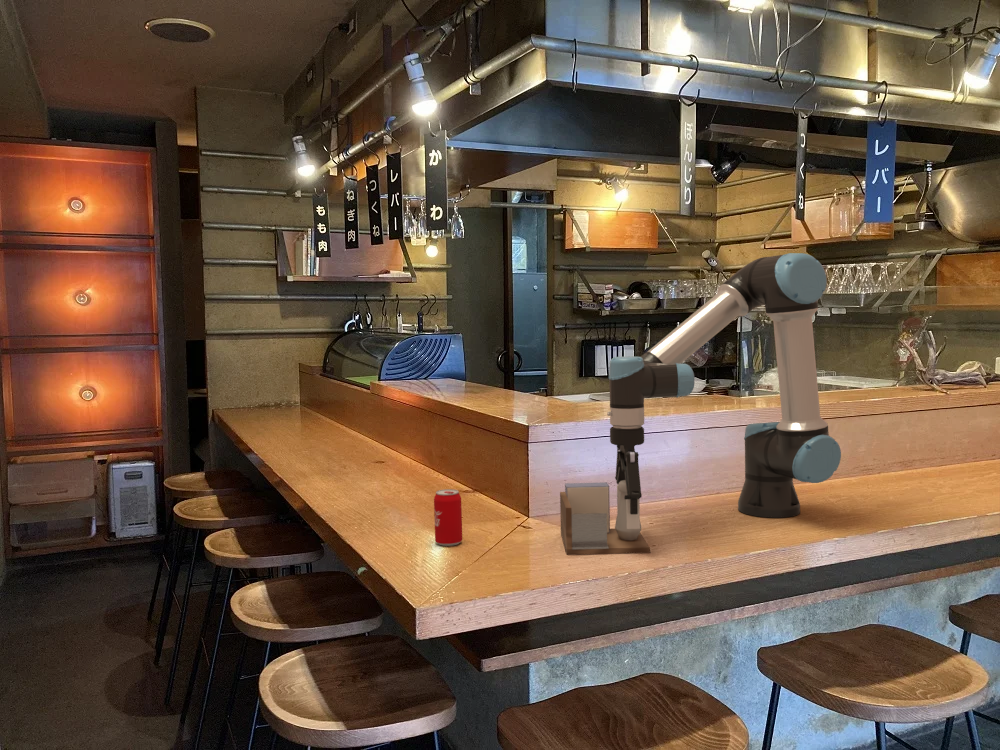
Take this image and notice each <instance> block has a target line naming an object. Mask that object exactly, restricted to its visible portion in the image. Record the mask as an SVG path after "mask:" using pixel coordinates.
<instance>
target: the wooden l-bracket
mask: <svg viewBox="0 0 1000 750" xmlns="http://www.w3.org/2000/svg"><path fill="white" fill-rule="evenodd" d="M559 503H560V504H559V506H560V508H559V512H560V513H559V514H560V537H561V540H562V543H563V547H564V550H565V554H566V556H567V555H568V556H570V555H573V556H575V555H578V556H579V555H612V554H613V555H614V554H615V555H616V554H618V555H619V554H620V555H621V554H651V546H650V545H649V543H648V541H647V540H646V538H645V537H644V536H643V534H642V533H641V532H640V534H639V536H638V538H637V540H631V541H629V540H622V539H620V538H619V536H618V534H617V532H616V530H615V528H610V533H607V545H608V547H609V549H572V511H571V505H570V503H569V500H568V498H567V495H566V493H565V491H560V492H559Z"/></svg>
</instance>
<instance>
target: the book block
mask: <svg viewBox="0 0 1000 750" xmlns="http://www.w3.org/2000/svg"><path fill="white" fill-rule="evenodd" d="M564 492H565V493H566V495H567V498H568V500H569V503H570V505H571V511H572V514H577V513H606V514H607V533H610V529H611V524H610V522H611V515H610V511H611V509H610V506H611V505H610V503H611V501H610V484H609V483H608V481H607V482H605V481H603V482H572V483H571V482H568V483H564Z"/></svg>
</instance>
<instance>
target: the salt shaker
mask: <svg viewBox="0 0 1000 750" xmlns="http://www.w3.org/2000/svg"><path fill="white" fill-rule="evenodd" d="M618 489H619V491H621V495H620V501H619V507H618V512H617V511H616V513H617V514H616V517H615V518H616V519H615V525H614V529H615V530H616V532H617V534H618V536H619V538H620V539H622V540H629V541H631V540H637V538H638V536H639V534H640V533H641V531H642V528H643V527H642V524H641V523H642V522H641V521H640V529H627V510H626V499H624V497H625V495H627V488H626V481H625V480H623V481H620V482H619V483H618Z"/></svg>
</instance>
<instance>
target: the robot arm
mask: <svg viewBox="0 0 1000 750" xmlns="http://www.w3.org/2000/svg"><path fill="white" fill-rule="evenodd" d="M827 282H828V278H827V274H826V270H825V268H824V266H823V265H822V263H821V262H820V261H819V260H818V259H816V258H815V257H814V256H813V255H810V254H807V253H801V252H800V253H798V252H797V253H796V252H794V253H793V252H790V253H786V254H779V255H771V256H762V257H760V258H756V259H754V260H752V261H751V262H749V263H747V264H746V265H744V266H743V267H741V268H740V269H739V270H738V271H736V272H735V273H734V274H733V275H731V276H730V277H729V278H727V280H726V281H724V282H723V283H722V284H720V285H719V287H718V288H717V293H716V294H715V295H714V296H713V297H711V298H710V299H709V300H708V301H706V302H705V303H704V304H703V305H702V306H701V307H699V308H698V309H697V310H695V311H694V312H693V313H692V314H690V315H689V317H688V318H686V319H685V320H684V321H682V322H681V323H679V325H678V326H676V327H675V328H674V329H673V330H671V332H669V333H668V334H667V335H666V336H664V337H663V338H662V339H661V340H659V341H658V342H657V343H656V344H655V345H653V346H652V347H651V348H650V349H649V350H647V351H646V352H645V353H643V354H642V355H641V356H615V357H613V358H611V359H610V362H609V368H608V369H609V370H608V380H609V381H608V382H609V384H608V385H609V387H608V388H609V410H610V411H607V412H606V414H607V417H609V424H610V425H611V427H610V428H609V442H610V443H611V444H612V445H614V446H616V450H617V451H616V464H615V465H616V466H615V476H614V479H615V481H616V504H617V505H616V507H617V508H616V513H617V512H618V507H619V501H620V495H621V491H619V489H618V483H619V482H620V481H623V480H625V481H626V488H627V495H625V497H624V499H626V510H627V529H640V522H641V517H640V515H641V511H640V508H641V507H640V501H641V500H640V499H641V498H642V496H643V494H642V487H641V479H640V466H639V452H638V451H636V449H635V446H641V445H643V444H644V443H645V428H644V427H643V425H645V399H655V398H659V399H661V398H680V397H686V396H689V395H690V394H692V392H693V390H694V388H695V373H694V371H693V368H692V367H691V366H690V365H689V364H687V363H684V362H685V361H686V360H687V359H688V358H690V357H691V356H692V355H693V354H694V353H695V352H697V351H698V350H699V349H700V348H702V347H703V346H704V345H705V344H706V343H708V342H709V341H710V340H712V338H713V337H715V336H716V335H717V334H718V333H720V332H721V331H722V330H723V329H724V328H726V327H727V326H728V325H729V324H730V323H731V322H733V321H734V320H735V319H736V318H738V317H745V316H747V314H749V313H750V312H751V311H753V310H755V309H756V308H759V307H762V306H764V307H765V315H766V316H767V317H769V319H771V320H772V322H773V332H774V343H775V353H776V354H775V356H776V366H777V378H778V379H777V380H778V388H779V399H780V400H779V401H780V409H781V410H780V411H781V420H780V421H773V422H772V421H771V422H770V421H769V422H768V421H767V422H756V423H755V422H754V423H748V424H747V425H746V427H745V429H744V436H743V437H744V438H743V439H744V477H745V478H744V482H743V486H742V488H741V492H740V495H739V497H738V500H737V510H738V512H741V513H742V514H746V515H749V516H754V517H760V518H775V519H776V518H789V517H795V516H798V515H800V513H801V502H800V500H799V497H798V494H797V491H796V489H795V485H794V481H793V480H797V481H799V482H802V483H812V484H819V483H820V484H821V483H823V482H825V481H827V480H828V479H830V478H831V477H832V476H833V475H834V473H835V472H836V471H837V470H838V468H839V466H840V463H841V459H842V451H841V450H842V449H841V446H840V444H839V443H838V442H837V441H836V440H835V438H833V437H832V436H830V433H829V425H828V422H827V421H826V420H824V419H823V418H822V417H821V410H820V400H819V396H820V395H819V388H818V387H819V386H818V375H817V362H816V353H815V340H814V329H813V316H814V314H815V313H816V312H817V311H818V310H819V305H818V300H820V299H821V298H822V297H823V295H824V294H823V293H824V292H826V289H827Z"/></svg>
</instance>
